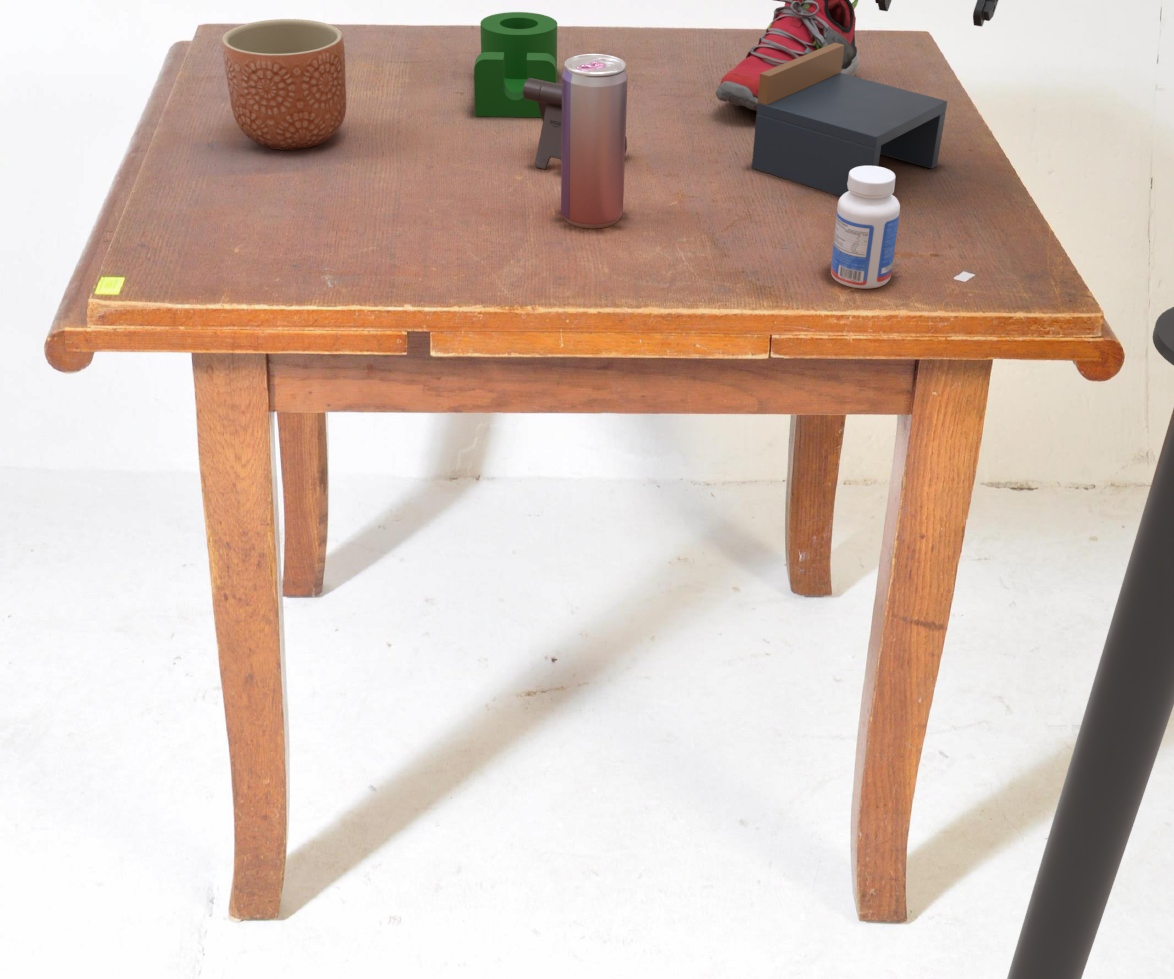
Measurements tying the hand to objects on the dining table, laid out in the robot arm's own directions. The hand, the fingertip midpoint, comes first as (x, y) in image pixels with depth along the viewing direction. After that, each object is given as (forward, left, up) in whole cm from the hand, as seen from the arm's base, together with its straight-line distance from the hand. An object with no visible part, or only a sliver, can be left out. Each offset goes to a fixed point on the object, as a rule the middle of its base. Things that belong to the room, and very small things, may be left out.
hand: (929, 14), depth 126 cm
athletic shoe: (+28, -24, -21) cm, 43 cm away
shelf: (+12, -10, -20) cm, 26 cm away
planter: (+60, +24, -21) cm, 68 cm away
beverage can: (+23, +18, -21) cm, 36 cm away
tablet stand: (+34, +8, -21) cm, 41 cm away
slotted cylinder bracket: (+53, -4, -21) cm, 57 cm away
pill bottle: (-3, +11, -21) cm, 24 cm away
